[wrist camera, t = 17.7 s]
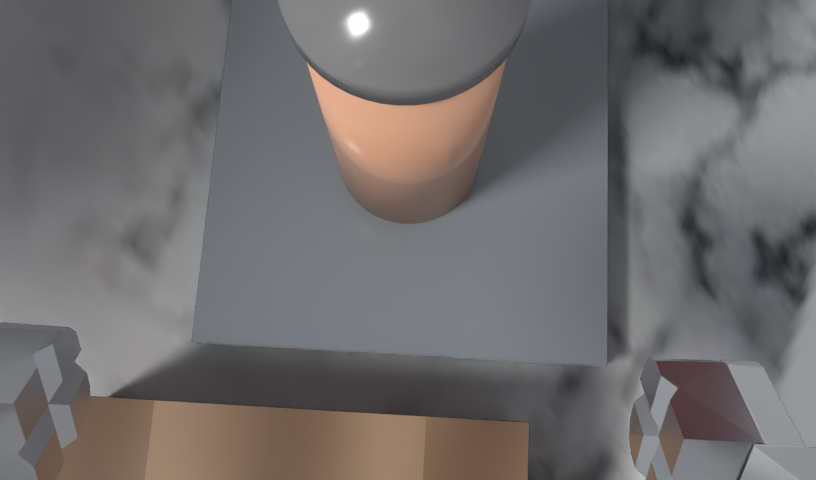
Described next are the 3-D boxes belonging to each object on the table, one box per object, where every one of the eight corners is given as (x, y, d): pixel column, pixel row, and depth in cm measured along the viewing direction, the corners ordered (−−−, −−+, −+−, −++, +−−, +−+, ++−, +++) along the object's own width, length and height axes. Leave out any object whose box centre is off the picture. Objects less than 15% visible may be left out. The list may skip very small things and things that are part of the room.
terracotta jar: (327, 225, 27) (259, 79, 15) (339, 81, 28) (285, -157, 16) (482, 233, 27) (534, 93, 15) (487, 89, 28) (540, -146, 16)
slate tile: (199, 343, 27) (191, 341, 26) (241, -17, 30) (235, -32, 29) (600, 367, 27) (607, 365, 26) (601, 0, 30) (608, -14, 29)
